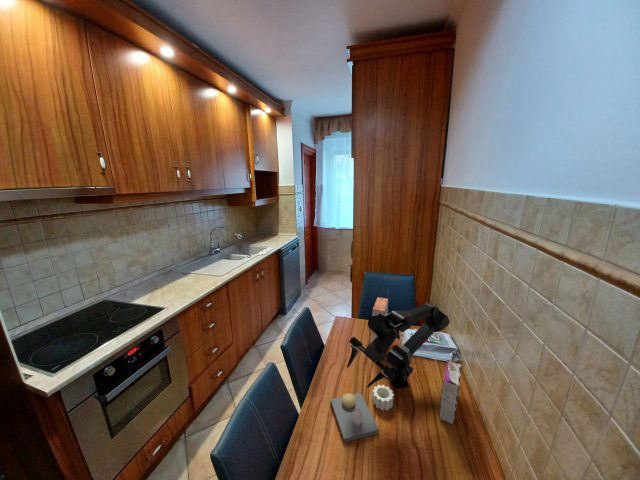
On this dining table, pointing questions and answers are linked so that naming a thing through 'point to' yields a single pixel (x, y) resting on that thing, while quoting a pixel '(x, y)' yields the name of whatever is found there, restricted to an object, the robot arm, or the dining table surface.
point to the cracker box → (379, 310)
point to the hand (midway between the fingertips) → (357, 377)
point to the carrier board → (348, 418)
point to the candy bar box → (450, 392)
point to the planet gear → (382, 402)
